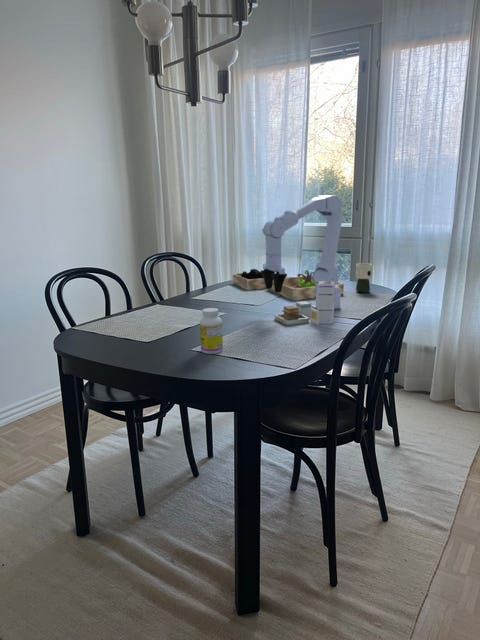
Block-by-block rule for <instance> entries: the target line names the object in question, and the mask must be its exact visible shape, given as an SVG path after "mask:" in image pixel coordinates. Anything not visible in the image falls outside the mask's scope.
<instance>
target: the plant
mask: <svg viewBox="0 0 480 640" xmlns="http://www.w3.org/2000/svg"><path fill="white" fill-rule="evenodd" d="M313 272H314V271H312V272H310V271H309V270H308V269H307V270H305V271H304V274H305V275H304V274H303V273H297V276H296V277H301V276H303V277H304V278H305V280H306V281H305V280H303V279H302V282H301V281H300V280H297V281H298V282H299V284H294V285H293V286H289V287H291V288H294V289H296V288H306V287H315V286H316V285H315V282H313V283H312V281H313V280H312V279H311V275H313ZM306 276H307V277H306Z"/></svg>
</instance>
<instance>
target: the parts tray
mask: <svg viewBox="0 0 480 640" xmlns="http://www.w3.org/2000/svg"><path fill="white" fill-rule="evenodd" d="M274 320H275V321H277V322H278V323H280V324H282V325H284V326H287V327H288V326H294V325H302V324H310V317H309V316H307V317H306V316H304V315H302V314H300V313H299V319H293V320H286V319H284V313H280V314H275V315H274Z"/></svg>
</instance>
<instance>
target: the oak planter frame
mask: <svg viewBox="0 0 480 640" xmlns="http://www.w3.org/2000/svg"><path fill="white" fill-rule="evenodd" d="M305 276H306V277H307V275H305ZM302 279H303V280H305V278H304V277H303V276H302V275H300V277H298V276H292V277H286V278H285V280H284V282H283V286H282V290H281V292H277V293H276V292H275V289H274V281H273V285H272V288H270V289H267V290H268V291H269V290H271V291H270V292H272V291H273V292H272V293H274V292H275V293H274V294H277V295H279V296H281V295H282V297H284V298H287V299H289V300H291V301H300V300H309V299H308V298H311V299H316V298H315V297H316V286H315V287H306V288H296V289H294V288H291V287H289V286H293V285H294V284H299V282H298V281H297V280H300V281H301V282H302ZM311 279H312V280H313V274H312V275H311ZM305 281H306V280H305ZM313 282H314V281H312V283H313ZM336 285H337V286H338V287H339V288H340V292H341V294H343V295H344V291H345V290H344V288H345V284H344V283H343V282H339V281H338V282H337V284H336Z"/></svg>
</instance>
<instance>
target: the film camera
mask: <svg viewBox="0 0 480 640" xmlns="http://www.w3.org/2000/svg"><path fill="white" fill-rule="evenodd" d="M241 273H242V274H241V277H243V278H246V279H248V280H250V279H261V278H263V275H262V273H261V272H260V270H258V269H256V268H251V269H250V271H249V272H248V271H242V272H241Z"/></svg>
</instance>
